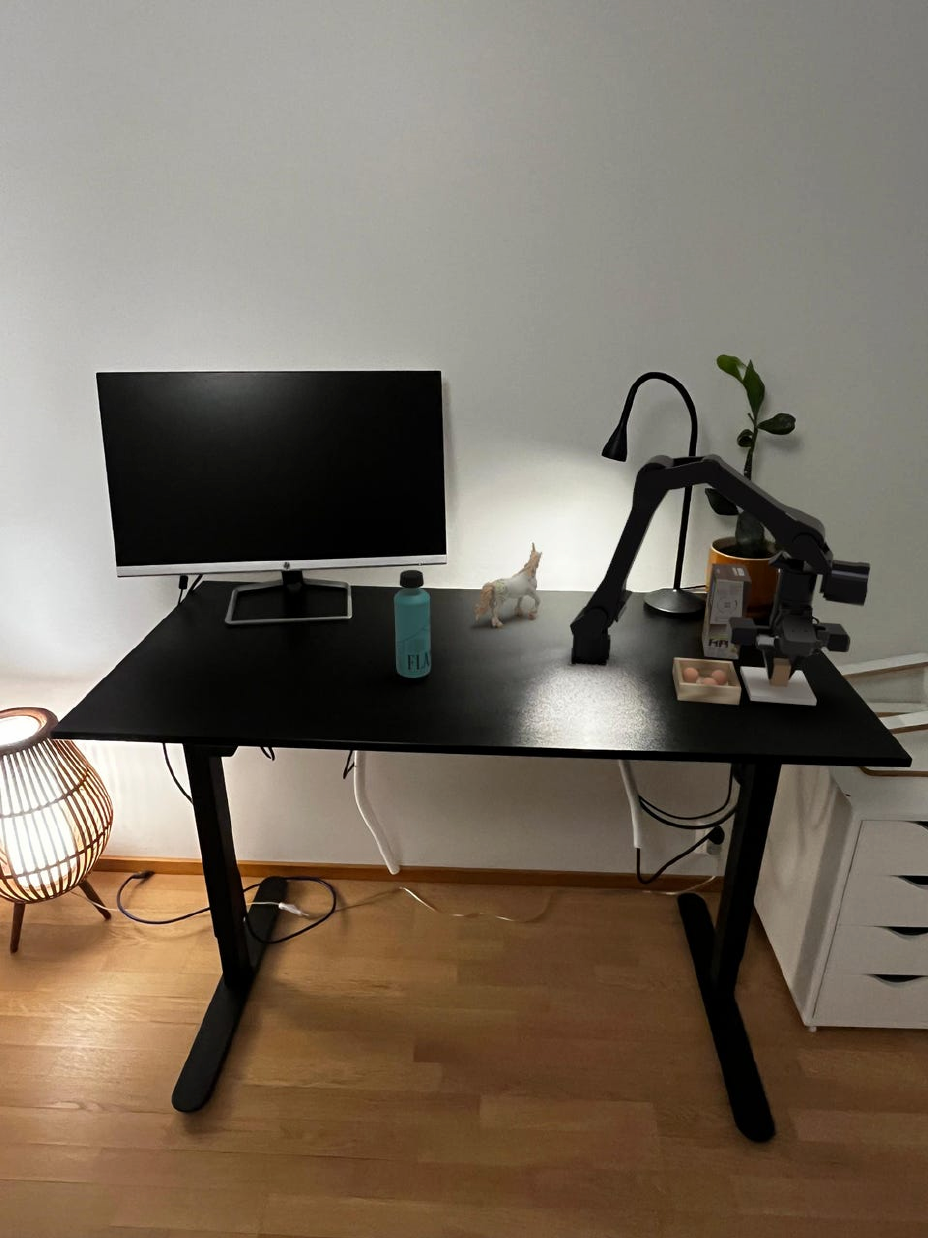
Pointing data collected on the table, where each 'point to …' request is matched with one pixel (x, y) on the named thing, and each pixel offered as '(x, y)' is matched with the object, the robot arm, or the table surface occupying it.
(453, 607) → the table surface
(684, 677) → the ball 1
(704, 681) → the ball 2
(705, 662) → the box
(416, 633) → the beverage bottle
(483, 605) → the unicorn figurine
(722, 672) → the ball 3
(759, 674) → the lid
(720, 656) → the coffee box
